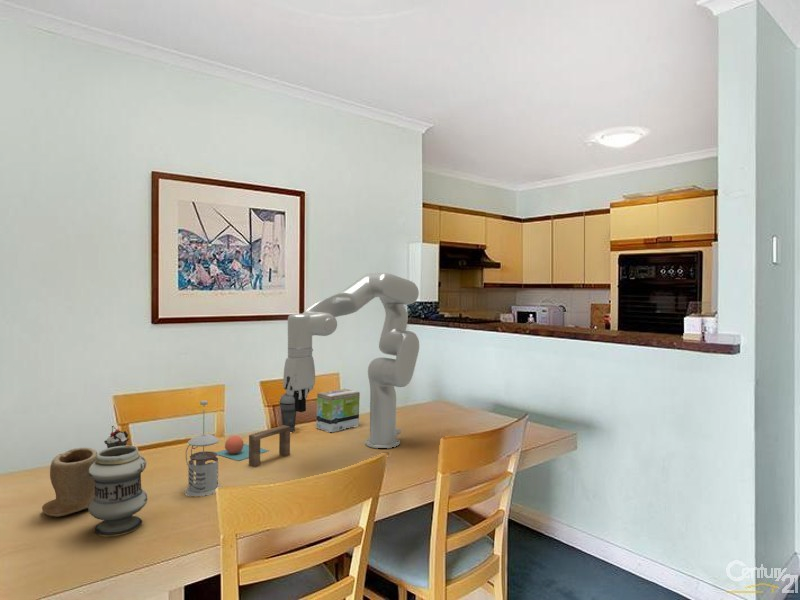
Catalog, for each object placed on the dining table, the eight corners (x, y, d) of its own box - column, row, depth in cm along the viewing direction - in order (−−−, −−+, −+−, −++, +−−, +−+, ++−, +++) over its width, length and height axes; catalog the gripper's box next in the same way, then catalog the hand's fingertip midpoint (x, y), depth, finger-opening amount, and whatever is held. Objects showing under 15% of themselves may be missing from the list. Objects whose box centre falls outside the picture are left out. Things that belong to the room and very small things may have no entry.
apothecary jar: (77, 530, 117) (77, 452, 116) (128, 511, 127) (129, 439, 127) (106, 544, 110) (106, 462, 110) (157, 523, 120) (158, 448, 120)
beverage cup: (293, 434, 197) (293, 383, 197) (275, 433, 198) (276, 382, 198) (300, 429, 204) (301, 380, 204) (283, 428, 205) (284, 379, 205)
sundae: (103, 479, 148) (103, 428, 148) (104, 471, 154) (104, 422, 154) (128, 475, 151) (129, 425, 151) (129, 468, 157) (129, 420, 157)
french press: (199, 499, 134) (199, 405, 134) (172, 490, 141) (173, 400, 140) (229, 488, 143) (230, 399, 142) (203, 479, 149) (203, 394, 149)
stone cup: (55, 526, 119) (55, 462, 118) (36, 512, 126) (36, 452, 126) (122, 504, 131) (122, 446, 131) (101, 493, 138) (101, 438, 138)
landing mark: (244, 444, 183) (244, 443, 183) (269, 450, 176) (269, 450, 176) (213, 453, 172) (213, 453, 172) (238, 461, 165) (238, 460, 165)
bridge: (248, 465, 161) (249, 435, 161) (283, 453, 174) (283, 425, 174) (255, 467, 160) (255, 436, 160) (289, 455, 172) (290, 426, 172)
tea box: (331, 433, 199) (332, 396, 199) (315, 428, 206) (316, 392, 206) (359, 426, 210) (360, 391, 210) (343, 422, 217) (344, 387, 217)
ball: (243, 431, 175) (249, 447, 174) (231, 438, 177) (237, 454, 176) (231, 434, 170) (237, 451, 168) (218, 441, 172) (224, 458, 170)
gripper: (307, 349, 168) (308, 405, 168) (273, 354, 155) (274, 414, 155) (325, 351, 163) (325, 408, 164) (291, 356, 151) (291, 418, 151)
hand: (300, 411), depth 160 cm, fingers closed
